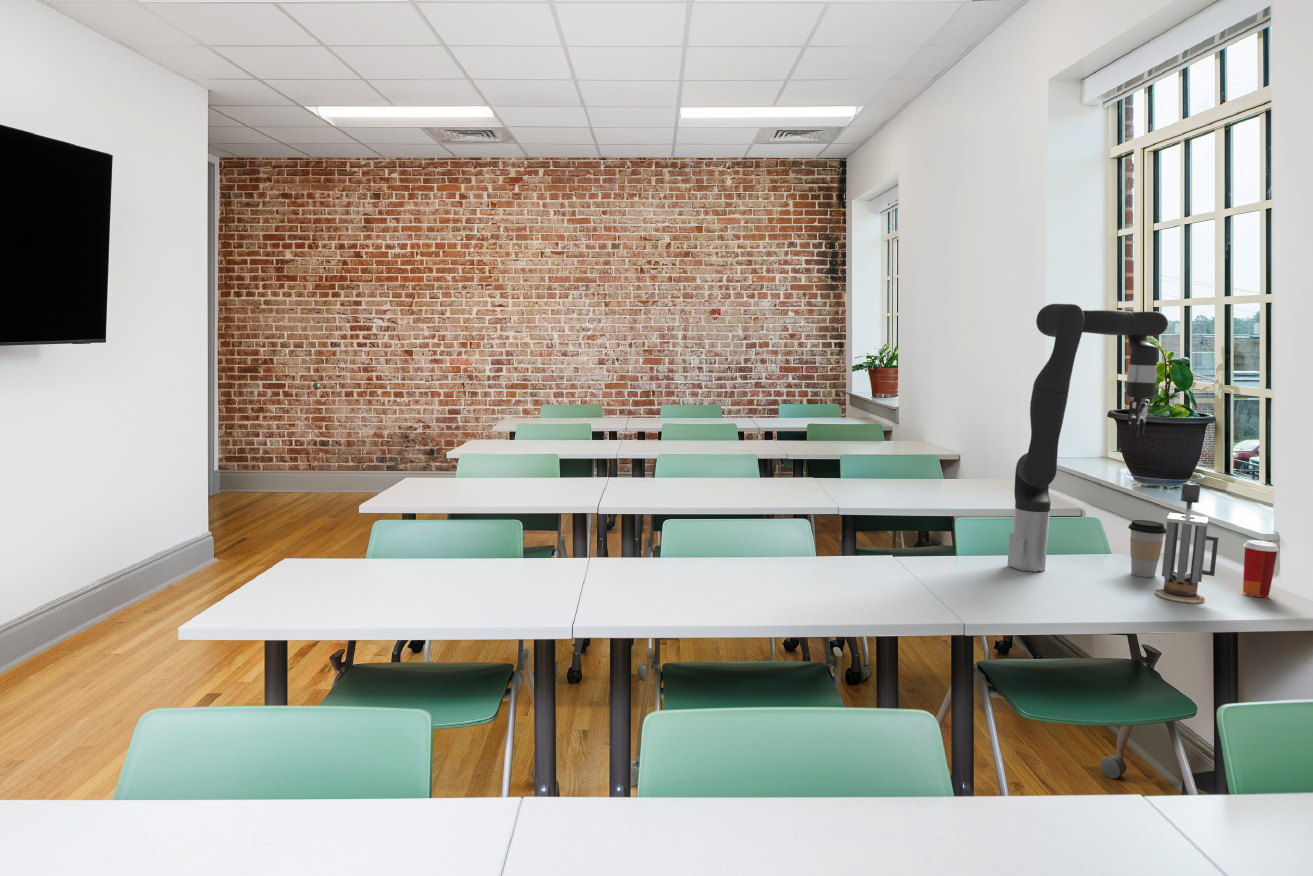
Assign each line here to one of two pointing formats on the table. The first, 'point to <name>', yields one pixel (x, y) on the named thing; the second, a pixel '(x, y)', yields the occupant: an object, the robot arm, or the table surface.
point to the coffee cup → (1145, 546)
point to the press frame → (1185, 559)
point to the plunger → (1188, 507)
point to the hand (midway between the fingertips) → (1136, 436)
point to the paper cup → (1259, 567)
